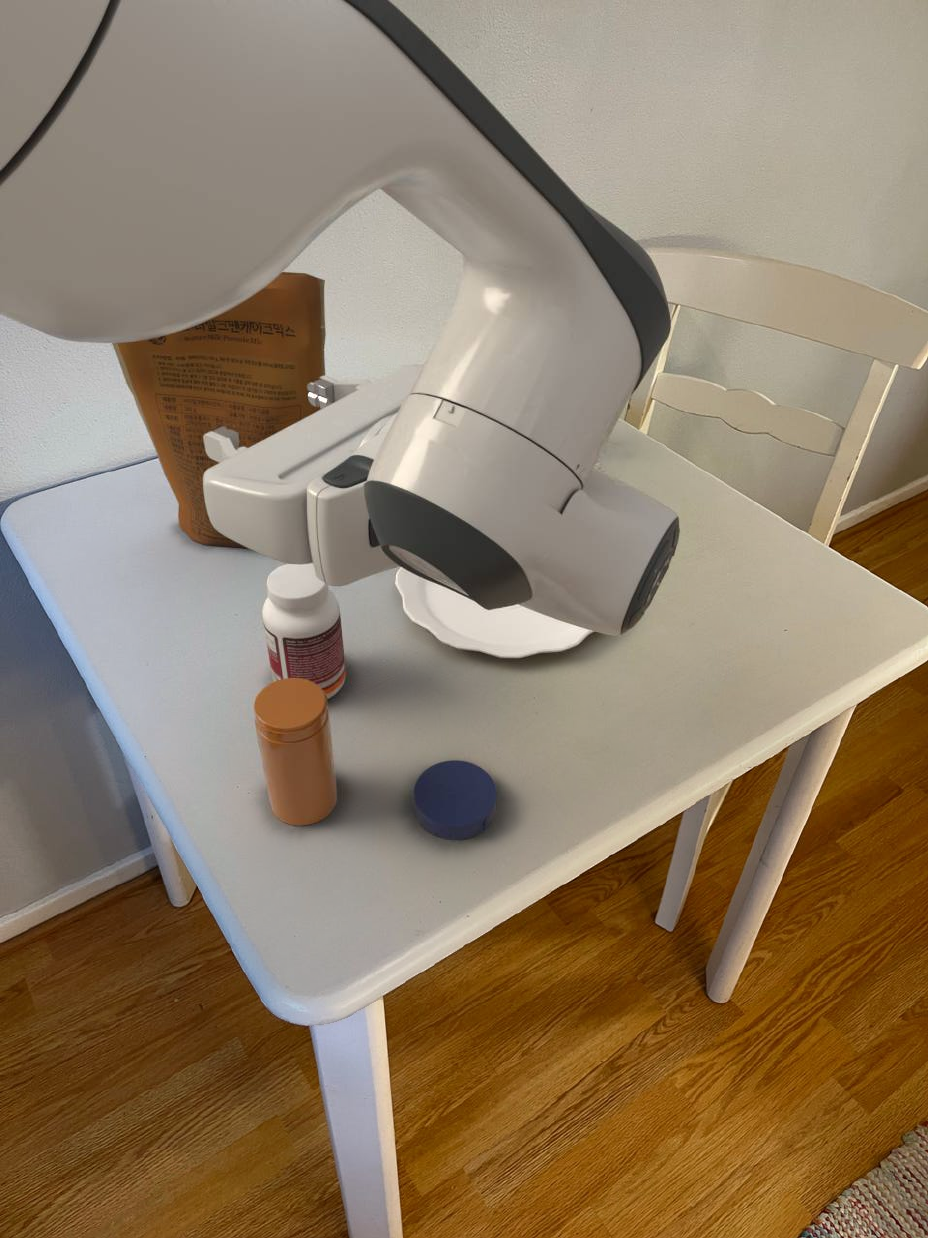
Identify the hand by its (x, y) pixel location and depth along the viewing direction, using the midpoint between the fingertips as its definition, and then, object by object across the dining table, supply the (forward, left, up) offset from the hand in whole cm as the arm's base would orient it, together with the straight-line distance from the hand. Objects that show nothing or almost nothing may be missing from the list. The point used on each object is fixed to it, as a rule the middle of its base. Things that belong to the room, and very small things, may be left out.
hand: (266, 413), depth 61 cm
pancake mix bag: (+1, +21, -25) cm, 33 cm away
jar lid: (+7, -18, -24) cm, 30 cm away
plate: (+21, +3, -25) cm, 33 cm away
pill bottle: (+1, -1, -25) cm, 25 cm away
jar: (-4, -13, -25) cm, 28 cm away
